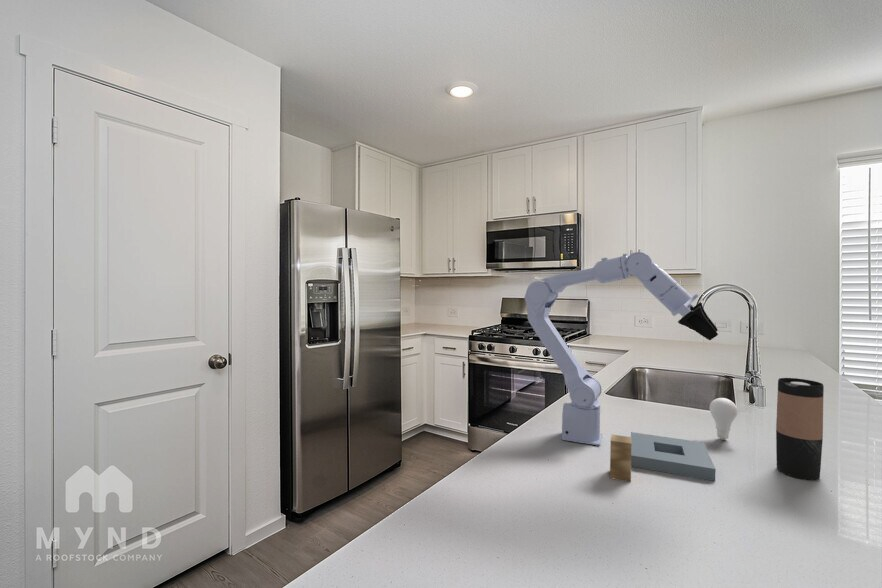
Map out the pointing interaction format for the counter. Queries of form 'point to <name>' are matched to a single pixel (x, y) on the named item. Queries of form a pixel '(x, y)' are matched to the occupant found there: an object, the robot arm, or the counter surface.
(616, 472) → the peg
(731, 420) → the lightbulb
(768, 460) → the counter surface
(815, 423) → the travel mug
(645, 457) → the socket block
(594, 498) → the counter surface
